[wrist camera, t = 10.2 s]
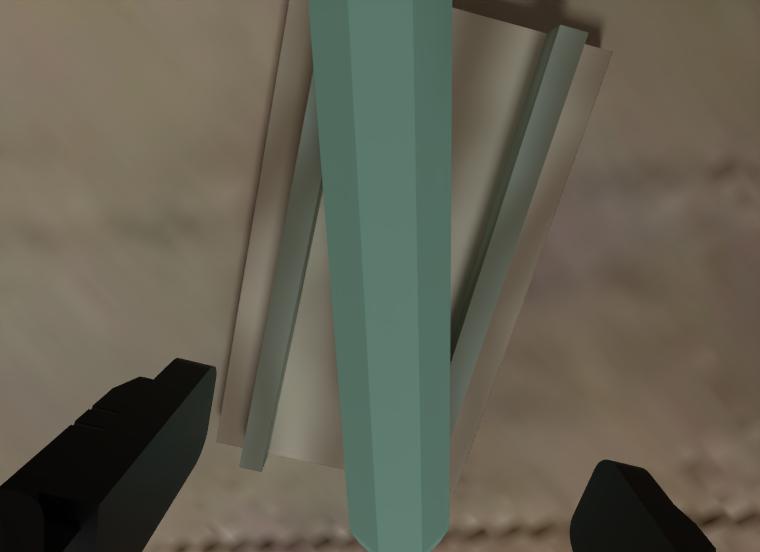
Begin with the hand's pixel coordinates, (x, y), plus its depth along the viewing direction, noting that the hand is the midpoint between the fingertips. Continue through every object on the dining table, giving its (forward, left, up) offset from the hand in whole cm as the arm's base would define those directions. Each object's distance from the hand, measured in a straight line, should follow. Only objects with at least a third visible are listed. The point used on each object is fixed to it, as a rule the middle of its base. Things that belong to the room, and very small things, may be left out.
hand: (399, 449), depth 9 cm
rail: (0, 0, -15) cm, 15 cm away
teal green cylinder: (0, 0, -12) cm, 12 cm away
